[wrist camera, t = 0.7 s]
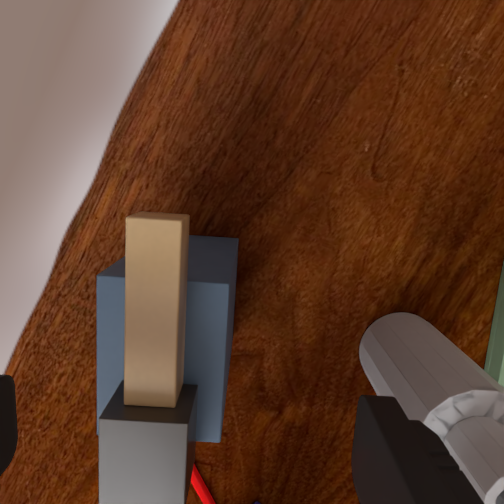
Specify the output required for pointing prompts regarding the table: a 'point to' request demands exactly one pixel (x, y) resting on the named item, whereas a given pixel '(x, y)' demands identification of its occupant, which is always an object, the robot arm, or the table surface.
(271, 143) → the table surface
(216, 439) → the stand
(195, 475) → the pen
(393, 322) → the bottle
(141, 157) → the table surface
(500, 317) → the tray
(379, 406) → the robot arm
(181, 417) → the brush
